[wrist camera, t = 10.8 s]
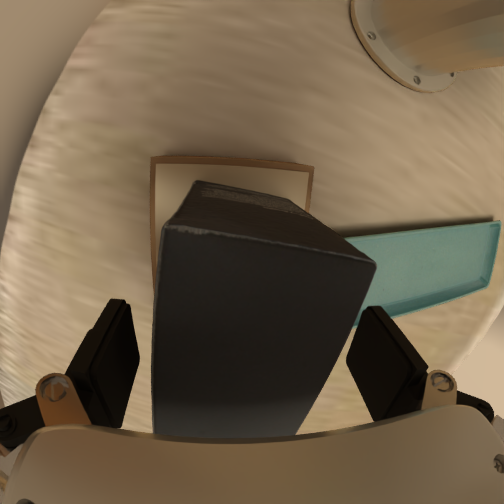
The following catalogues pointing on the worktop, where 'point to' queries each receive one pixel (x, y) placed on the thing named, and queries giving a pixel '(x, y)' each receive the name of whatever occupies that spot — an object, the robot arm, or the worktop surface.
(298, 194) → the brown rectangular tray
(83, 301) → the worktop surface
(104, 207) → the worktop surface
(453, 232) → the shallow long dish
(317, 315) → the small box
